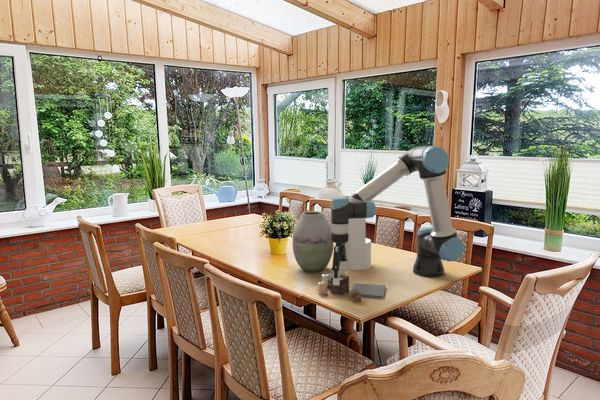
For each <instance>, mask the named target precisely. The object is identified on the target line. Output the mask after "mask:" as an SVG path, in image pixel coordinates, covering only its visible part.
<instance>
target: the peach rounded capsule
mask: <svg viewBox="0 0 600 400" xmlns="http://www.w3.org/2000/svg"><path fill="white" fill-rule="evenodd" d="M317 283H318V286H317V288H318V289H317V292H318V295H319V296H327V295H328V289H327V282H325V281H322V280H321V281H318V282H317Z"/></svg>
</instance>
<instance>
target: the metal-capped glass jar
mask: <svg viewBox="0 0 600 400" xmlns="http://www.w3.org/2000/svg"><path fill="white" fill-rule="evenodd" d="M331 277H333V272H332V273H331V272H323V273H321V281H325V282H327V290H331Z"/></svg>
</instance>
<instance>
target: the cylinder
mask: <svg viewBox="0 0 600 400" xmlns="http://www.w3.org/2000/svg"><path fill="white" fill-rule="evenodd" d="M366 219H367V218H355V219H349V232H348V242H346V243H345V250H346V259H347V261H344V262H345V270H347V271H364V270H368V269H370V268H371V266H372V240H371V239H370V238H367V237H366V236H367V235H366V234H367V233H366Z"/></svg>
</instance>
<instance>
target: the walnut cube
mask: <svg viewBox="0 0 600 400" xmlns="http://www.w3.org/2000/svg"><path fill="white" fill-rule="evenodd" d="M349 298H350V302H351V303H361V302H362V297H361V291H360V289H354V290H352V289H349Z"/></svg>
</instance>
